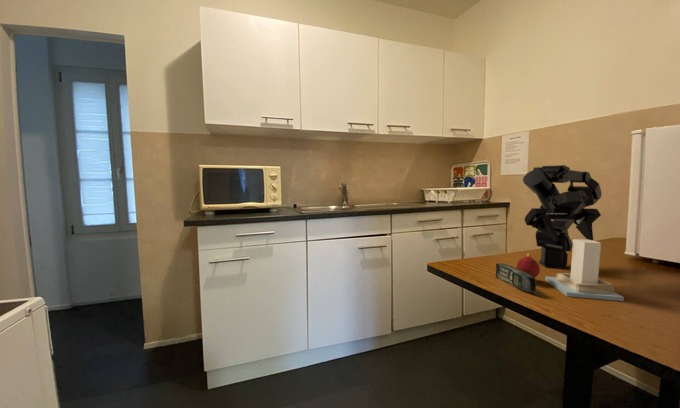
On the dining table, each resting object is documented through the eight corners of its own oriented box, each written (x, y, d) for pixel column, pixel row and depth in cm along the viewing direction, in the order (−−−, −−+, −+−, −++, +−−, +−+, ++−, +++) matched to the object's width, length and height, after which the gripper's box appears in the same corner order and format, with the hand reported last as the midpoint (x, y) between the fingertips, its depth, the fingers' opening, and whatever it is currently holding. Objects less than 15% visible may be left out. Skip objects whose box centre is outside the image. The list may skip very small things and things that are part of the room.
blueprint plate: (566, 296, 72) (566, 292, 72) (545, 279, 83) (545, 276, 83) (623, 301, 69) (623, 297, 69) (593, 283, 80) (593, 280, 80)
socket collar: (555, 279, 80) (556, 273, 80) (587, 280, 80) (587, 273, 79) (578, 291, 72) (578, 284, 72) (614, 293, 71) (614, 285, 71)
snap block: (569, 283, 78) (573, 239, 77) (585, 283, 78) (588, 239, 76) (581, 288, 74) (584, 242, 73) (597, 289, 74) (601, 242, 72)
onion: (542, 284, 79) (544, 257, 79) (520, 283, 81) (522, 256, 80) (533, 277, 85) (534, 252, 84) (512, 276, 86) (513, 251, 85)
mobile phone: (493, 262, 86) (533, 278, 71) (502, 261, 86) (544, 277, 71) (493, 277, 86) (533, 297, 71) (502, 277, 86) (543, 296, 72)
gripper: (532, 181, 84) (555, 223, 74) (598, 181, 82) (630, 224, 72) (516, 205, 92) (534, 245, 82) (575, 205, 91) (602, 246, 81)
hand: (574, 240), depth 79 cm, fingers open, 9 cm apart
